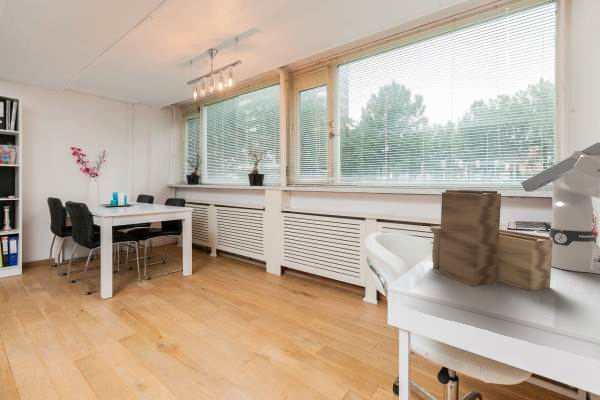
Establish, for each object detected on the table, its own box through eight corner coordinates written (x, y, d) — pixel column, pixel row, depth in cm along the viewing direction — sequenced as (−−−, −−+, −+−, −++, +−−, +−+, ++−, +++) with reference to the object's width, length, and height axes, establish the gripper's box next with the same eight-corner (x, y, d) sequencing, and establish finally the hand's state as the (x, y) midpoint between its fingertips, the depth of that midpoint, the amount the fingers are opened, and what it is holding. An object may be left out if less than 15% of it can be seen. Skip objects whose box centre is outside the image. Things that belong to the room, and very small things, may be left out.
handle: (449, 268, 105) (450, 227, 104) (438, 270, 102) (439, 228, 101) (437, 264, 109) (438, 225, 108) (426, 267, 106) (427, 227, 105)
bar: (532, 191, 88) (527, 183, 89) (612, 152, 71) (604, 143, 72) (525, 191, 86) (520, 182, 88) (605, 152, 70) (597, 142, 71)
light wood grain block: (500, 272, 101) (502, 229, 100) (549, 287, 86) (553, 236, 86) (481, 275, 98) (483, 230, 97) (529, 291, 83) (532, 238, 82)
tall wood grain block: (460, 270, 102) (464, 189, 100) (496, 282, 90) (501, 190, 88) (439, 273, 99) (442, 189, 97) (473, 286, 87) (477, 191, 85)
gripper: (608, 192, 63) (547, 163, 73) (656, 191, 70) (593, 165, 80) (631, 166, 59) (563, 140, 70) (678, 168, 66) (610, 144, 77)
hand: (580, 153), depth 75 cm, fingers closed on bar, 3 cm apart
